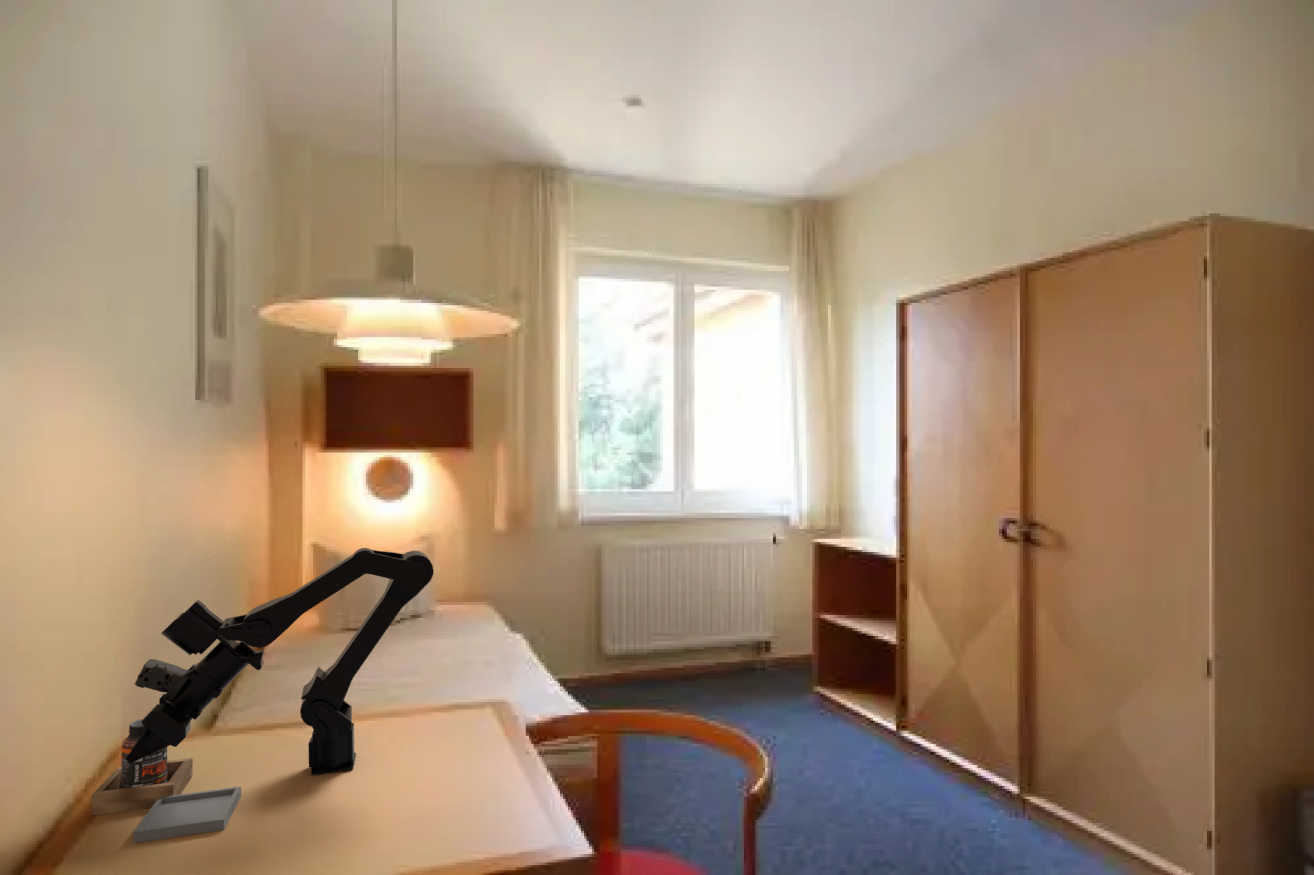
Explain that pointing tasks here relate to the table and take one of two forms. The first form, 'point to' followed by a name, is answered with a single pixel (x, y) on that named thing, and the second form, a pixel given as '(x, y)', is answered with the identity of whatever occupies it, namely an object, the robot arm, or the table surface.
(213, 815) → the slate tray
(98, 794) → the walnut collar
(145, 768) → the supplement bottle
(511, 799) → the table surface
